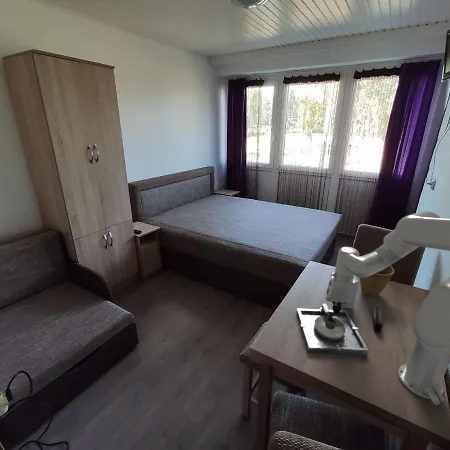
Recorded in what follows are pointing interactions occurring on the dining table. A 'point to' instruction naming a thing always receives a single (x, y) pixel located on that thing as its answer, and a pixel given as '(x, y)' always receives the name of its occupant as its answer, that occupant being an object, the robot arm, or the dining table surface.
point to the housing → (318, 344)
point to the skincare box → (351, 304)
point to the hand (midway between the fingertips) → (335, 311)
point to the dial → (329, 325)
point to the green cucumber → (377, 319)
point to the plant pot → (376, 282)
